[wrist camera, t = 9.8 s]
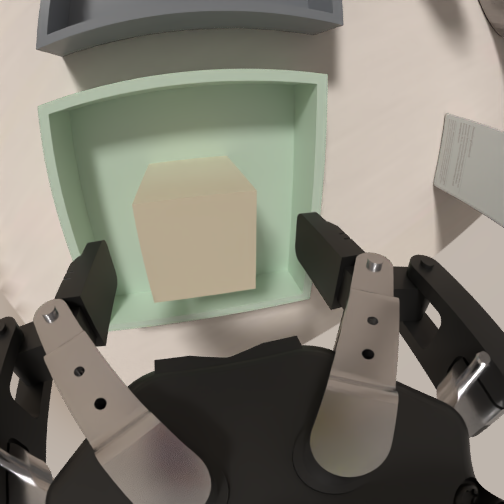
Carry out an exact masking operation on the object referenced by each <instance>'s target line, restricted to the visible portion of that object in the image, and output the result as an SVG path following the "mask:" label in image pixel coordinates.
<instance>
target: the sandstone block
mask: <svg viewBox="0 0 504 504" xmlns="http://www.w3.org/2000/svg"><path fill="white" fill-rule="evenodd" d="M132 208H133V213H134V218H135V224H136V229H137V234H138V238H139V243H140V248H141V252H142V257H143V261H144V265H145V269H146V273H147V277H148V281H149V285H150V289H151V293H152V296H153V300H154V303H157V302H165V301H173V300H181V299H188V298H195V297H202V296H210V295H216V294H223V293H230V292H236V291H243V290H249V289H256V219H257V190H256V189H255V188H254V187H253V185H252V184H251V183H250V182H249V181H248V180H247V178H246V177H245V176H244V175H243V174H242V173H241V171H240V170H239V169H238V168H237V167H236V166H235V164H234V163H233V162H232V161H231V160H230V159H229V158H228V156H216V157H204V158H194V159H184V160H176V161H167V162H160V163H152V164H149V165H148V167H147V169H146V172H145V174H144V176H143V179H142V181H141V184H140V186H139V188H138V191H137V193H136V196H135V198H134V201H133V203H132Z"/></svg>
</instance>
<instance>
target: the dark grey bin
mask: <svg viewBox="0 0 504 504" xmlns="http://www.w3.org/2000/svg"><path fill="white" fill-rule="evenodd" d="M339 26H343V9H342V0H41V3H40V10H39V18H38V29H37V43H36V50H40V51H44V52H47V53H51V54H54V55H58V56H61V57H62V56H65V55H68V54H71V53H74V52H77V51H80V50H83V49H87V48H90V47H94V46H97V45H101V44H105V43H109V42H113V41H117V40H122V39H127V38H132V37H137V36H143V35H149V34H155V33H162V32H170V31H180V30H192V29H210V28H248V29H267V30H279V31H288V32H297V33H304V34H311V35H315V34H318V33H321V32H324V31H327V30H330V29H333V28H336V27H339Z"/></svg>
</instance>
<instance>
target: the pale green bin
mask: <svg viewBox="0 0 504 504" xmlns="http://www.w3.org/2000/svg"><path fill="white" fill-rule="evenodd" d="M327 92H328V74H322V73H313V72H304V71H292V70H277V69H214V70H198V71H187V72H177V73H169V74H161V75H154V76H148V77H142V78H136V79H131V80H126V81H121V82H117V83H112V84H108V85H104V86H100V87H96V88H92V89H88V90H85V91H81V92H78V93H75V94H71V95H68V96H65V97H62V98H59V99H56V100H53V101H51V102H48V103H45V104H42V105H40V106H38V116H39V125H40V133H41V140H42V146H43V152H44V158H45V163H46V168H47V173H48V178H49V182H50V187H51V191H52V195H53V199H54V203H55V206H56V210H57V214H58V217H59V221H60V224H61V227H62V230H63V233H64V237H65V240H66V243H67V246H68V248H69V251H70V254H71V257H72V260H73V261H74V260H75V259H76V258H77V257H78V256H81V254H82V252H83V250H84V248H85V246H86V244H87V243H89V242H95V241H101V240H105V241H106V243H107V246H108V249H109V252H110V255H111V259H112V262H113V265H114V268H115V271H116V275H117V289H116V294H115V299H114V303H113V308H112V313H111V318H110V324H109V329H108V331H116V330H126V329H134V328H143V327H151V326H158V325H166V324H173V323H180V322H187V321H194V320H200V319H206V318H212V317H218V316H224V315H230V314H236V313H241V312H247V311H252V310H258V309H263V308H268V307H273V306H278V305H283V304H288V303H293V302H297V301H302V300H307V299H310V294H311V287H312V280H311V279H310V277H309V276H308V274H307V273H306V271H305V270H304V268H303V267H302V265H301V264H300V262H299V261H298V259H297V257H296V253H295V239H296V224H297V216H298V214H300V213H310V212H317V213H318V214H319V215H320V212H321V202H322V190H323V178H324V163H325V147H326V126H327ZM216 156H228V158H229V159H230V160H231V161H232V162H233V163H234V164H235V166H236V167H237V168H238V169H239V170H240V171H241V173H242V174H243V175H244V176H245V177H246V178H247V180H248V181H249V182H250V183H251V184H252V185H253V187H254V188H255V189H256V190H257V219H256V289H249V290H243V291H236V292H230V293H223V294H216V295H210V296H202V297H195V298H188V299H181V300H173V301H165V302H157V303H154V300H153V296H152V293H151V289H150V285H149V281H148V277H147V273H146V269H145V265H144V261H143V257H142V252H141V248H140V243H139V238H138V234H137V229H136V224H135V218H134V213H133V208H132V203H133V201H134V198H135V196H136V193H137V191H138V188H139V186H140V184H141V181H142V179H143V176H144V174H145V172H146V169H147V167H148V165H149V164H152V163H160V162H167V161H176V160H184V159H194V158H204V157H216Z"/></svg>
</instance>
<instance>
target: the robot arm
mask: <svg viewBox="0 0 504 504" xmlns="http://www.w3.org/2000/svg"><path fill="white" fill-rule="evenodd" d="M479 1H480V3H481V6H482V8H483V10H484V12H485V14H486V16H487V18H488V20H489V22H490V23H491V25H492V27H493V28H494V29H495V31H496V32H497V33H498V34H499V35H500V36H502V37H504V0H479ZM295 253H296V257H297V259H298V261H299V262H300V264H301V265H302V267H303V268H304V270H305V271H306V273H307V274H308V276H309V277H310V279H311V280H312V282H313V283H314V285H315V286H316V288H317V289H318V291H319V292H320V294H321V295H322V297H323V298H324V300H325V301H326V303H327V305H328V306H329V308H330V309H331V310H332V309H336V308H340V307H342V308H343V309H344V311H343V314H342V318H341V322H340V326H339V330H338V334H337V338H336V341H335V345H334V349H333V351H332V350H330V349H326V348H322V347H316V346H306V345H301V343H300V341H299V339H298V337H297V336H293V337H289V338H285V339H280V340H276V341H271V342H266V343H262V344H260V345H258V346H255V347H253V348H251V349H248V350H246V351H244V352H241V353H239V354H237V355H234V356H232V357H228V358H218V357H199V356H185V357H177V358H169V359H161V360H154V361H155V371H153V372H150V373H148V374H146V375H144V376H142V377H140V378H139V379H137V380H135V381H134V382H133V383H131V384H130V385H129V386H128V387H127V386H126V385H125V384H124V382H123V381H122V380H121V379H120V378H119V376H118V375H117V374H116V373H115V371H114V370H113V369H112V368H111V366H110V365H109V364H108V362H107V361H106V360H105V358H104V357H103V356H102V354H101V353H100V352H99V350H98V349H97V348H96V346H106V341H107V335H108V329H109V324H110V318H111V313H112V308H113V303H114V299H115V294H116V289H117V275H116V271H115V268H114V265H113V262H112V259H111V255H110V252H109V249H108V246H107V243H106V241H105V240H101V241H95V242H89V243H87V244H86V246H85V248H84V250H83V252H82V254H81V256H78V257H77V258H76V259H75V260H74V261H73V262H72V263H71V264H70V266H69V268H68V270H67V273H66V274H65V276H64V280H63V281H62V283H61V285H60V287H59V289H58V292H57V294H56V296H55V299H53V300H50V301H48V302H46V303H44V304H43V305H41V306H40V307H39V308H38V310H37V311H36V313H35V315H34V318H33V322H31V323H28V324H25V325H23V326H20V327H19V326H18V324H17V323H16V321H15V319H14V318H12V317H5V318H2V319H0V504H504V500H502V499H500V498H498V497H496V496H495V495H493V494H491V493H490V492H488V491H487V490H485V489H484V488H483V487H482V486H481V485H480V484H479V483H478V481H477V480H476V478H475V475H474V472H473V467H472V462H471V455H470V445H469V444H470V443H469V438H470V437H474V436H476V435H478V434H480V433H481V432H482V431H483V430H485V429H486V428H487V427H488V426H490V425H491V424H492V423H493V422H495V421H496V420H497V419H498V418H499V417H500V416H502V415H503V414H504V332H503V331H502V330H501V329H500V327H499V326H498V325H497V324H496V323H495V322H494V320H493V319H492V318H491V317H490V316H489V315H488V313H487V312H486V311H485V310H484V309H483V308H482V307H481V306H480V305H479V303H478V302H477V301H476V300H475V299H474V298H473V297H472V296H471V295H470V294H469V293H468V292H467V291H466V290H465V289H464V288H463V287H462V285H461V284H459V283H458V281H457V280H456V279H455V278H453V276H451V274H450V273H449V272H447V271H446V270H445V269H444V268H443V267H442V266H441V265H440V264H439V263H438V262H437V261H436V260H434V259H432V258H430V257H428V256H424V255H415V256H413V257H411V259H410V262H409V266H408V267H394V266H393V265H392V263H391V261H390V260H389V259H387V258H386V257H384V256H382V255H380V254H376V253H370V252H368V253H365V252H364V251H363V250H362V249H361V248H360V247H359V246H358V245H357V244H356V243H355V242H354V241H353V240H352V239H350V237H349V236H348V235H347V234H345V233H344V232H343V231H342V230H341V229H340V228H339V227H338V226H336V225H334V224H332V223H330V222H326V221H325V220H324V219H323V218H322V217H321V216H320V215H319V214H318V213H317V212H310V213H300V214H298V216H297V224H296V239H295ZM429 303H431V304H432V305H433V306H434V307H435V309H436V310H437V311H438V312H439V314H440V316H441V326H440V328H439V329H438V328H437V327H436V326H435V324H434V323H433V322H432V320H431V319H430V318H429V317H428V315H427V314H426V313H425V311H426V309H427V307H428V305H429ZM399 332H400V334H401V335H402V337H403V338H404V340H405V341H406V343H407V344H408V346H409V347H410V349H411V350H412V352H413V353H414V355H415V356H416V358H417V359H418V361H419V362H420V364H421V365H422V367H423V369H424V370H425V372H426V373H427V375H428V376H429V378H430V380H431V381H432V383H433V385H434V386H435V388H436V389H437V399H436V398H434V397H431V396H429V395H427V394H424V393H422V392H420V391H418V390H415V389H413V388H411V387H409V386H406V385H404V384H402V383H400V382H398V381H396V375H397V362H398V346H399ZM13 372H14V373H15V374H16V375H17V376H18V377H19V378H20V379H19V383H18V388H17V393H16V398H15V400H14V399H13V398H12V396H11V393H10V382H11V378H12V374H13ZM52 380H54V382H55V384H56V386H57V388H58V390H59V392H60V394H61V396H62V398H63V400H64V402H65V404H66V405H67V407H68V409H69V411H70V412H71V414H72V416H73V418H74V419H75V421H76V423H77V424H78V426H79V427H80V429H81V431H82V432H83V434H84V435H85V437H86V439H85V440H84V441H83V443H82V444H81V445H80V446H79V448H78V449H77V450H76V451H75V453H74V454H73V456H72V457H71V458H70V459H69V461H68V462H67V463H66V464H65V466H64V467H63V468H62V470H61V471H60V472H59V474H58V475H57V476H56V477H55V479H54V478H53V477H52V474H51V471H50V470H49V468H48V466H47V465H46V436H47V420H48V411H49V401H50V393H51V387H52Z"/></svg>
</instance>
